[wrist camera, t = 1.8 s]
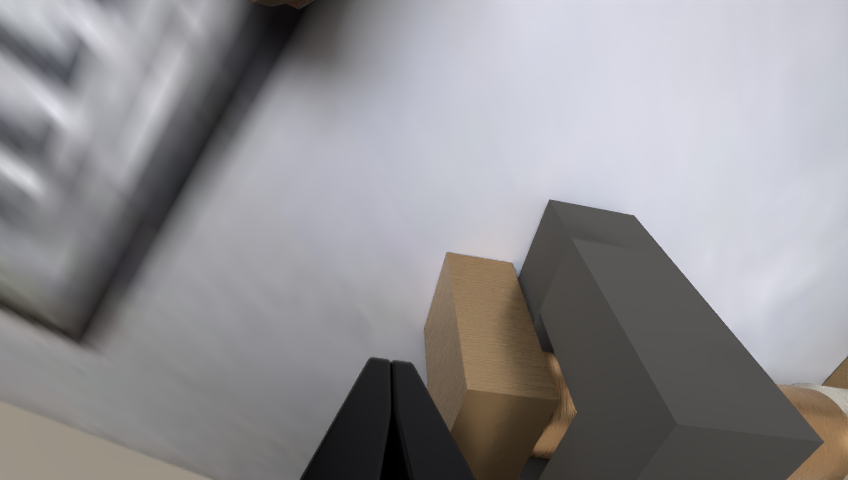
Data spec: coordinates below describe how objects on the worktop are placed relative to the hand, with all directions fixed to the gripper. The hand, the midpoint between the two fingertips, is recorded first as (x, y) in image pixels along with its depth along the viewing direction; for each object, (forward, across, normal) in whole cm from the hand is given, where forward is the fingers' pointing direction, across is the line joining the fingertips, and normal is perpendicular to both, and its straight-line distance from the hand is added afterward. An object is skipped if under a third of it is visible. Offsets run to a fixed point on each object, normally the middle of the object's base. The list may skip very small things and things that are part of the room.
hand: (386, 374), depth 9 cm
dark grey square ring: (+8, -6, +4) cm, 11 cm away
